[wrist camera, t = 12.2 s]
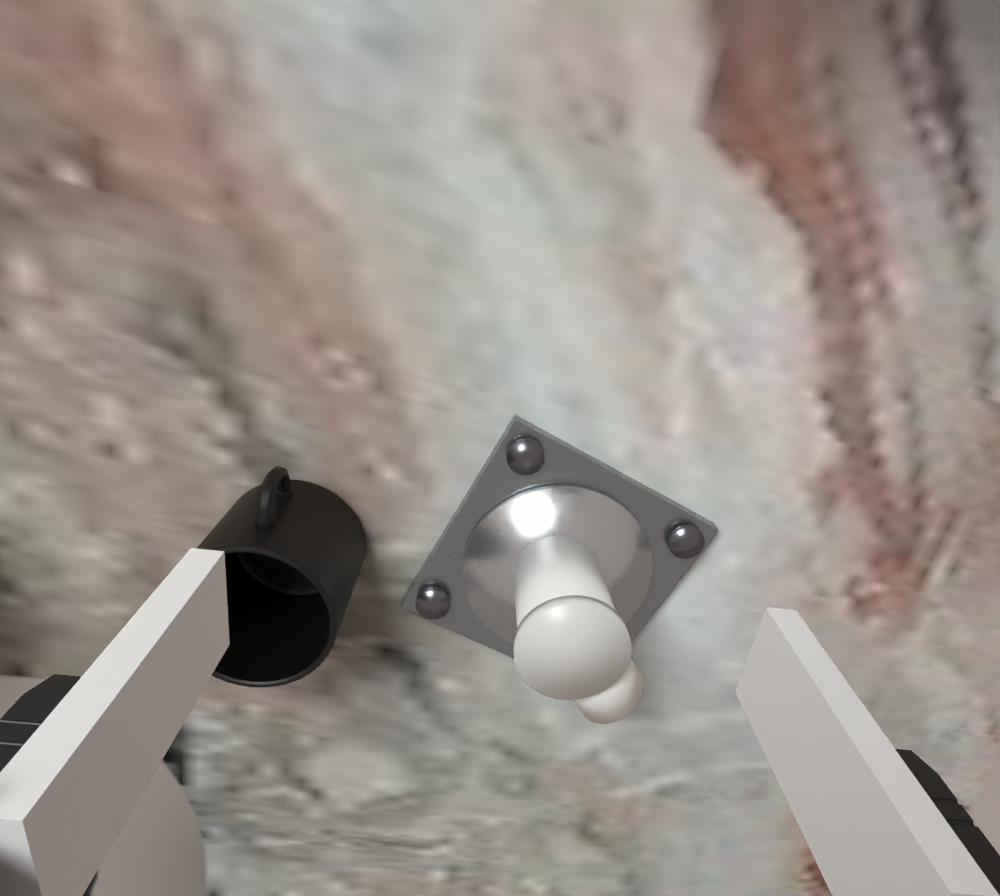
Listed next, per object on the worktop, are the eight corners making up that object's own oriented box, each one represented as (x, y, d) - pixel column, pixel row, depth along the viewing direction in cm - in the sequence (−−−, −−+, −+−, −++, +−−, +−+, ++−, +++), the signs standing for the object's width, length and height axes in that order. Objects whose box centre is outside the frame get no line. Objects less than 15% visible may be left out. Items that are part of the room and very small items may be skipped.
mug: (371, 449, 40) (341, 512, 31) (363, 602, 44) (334, 695, 36) (224, 433, 39) (152, 493, 31) (229, 590, 43) (168, 681, 35)
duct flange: (514, 414, 39) (516, 423, 38) (713, 522, 42) (722, 534, 41) (402, 598, 44) (399, 613, 42) (588, 683, 47) (592, 699, 46)
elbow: (490, 559, 41) (492, 637, 34) (577, 514, 40) (599, 584, 33) (555, 654, 44) (570, 746, 37) (637, 615, 43) (670, 701, 36)
